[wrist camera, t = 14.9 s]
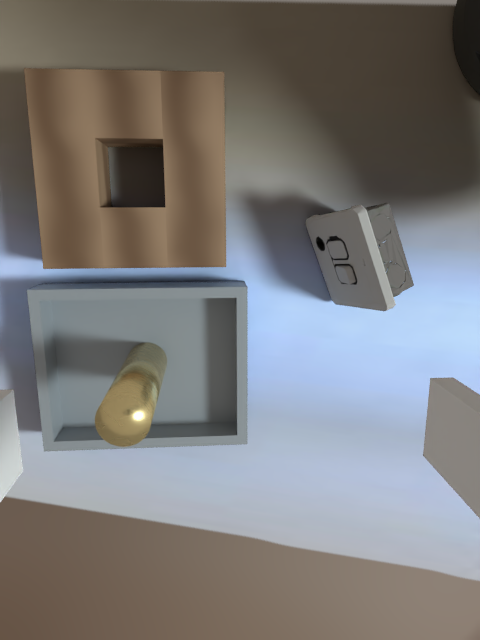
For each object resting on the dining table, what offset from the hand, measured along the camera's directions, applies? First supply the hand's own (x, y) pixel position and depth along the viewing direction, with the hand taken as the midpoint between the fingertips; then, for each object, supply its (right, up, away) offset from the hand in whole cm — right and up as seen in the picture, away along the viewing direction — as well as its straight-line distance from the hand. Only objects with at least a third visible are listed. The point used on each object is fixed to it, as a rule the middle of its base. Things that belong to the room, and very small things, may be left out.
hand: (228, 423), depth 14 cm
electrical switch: (+11, +10, +32) cm, 36 cm away
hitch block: (-9, +17, +29) cm, 35 cm away
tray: (-9, -1, +33) cm, 34 cm away
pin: (-9, -1, +32) cm, 33 cm away
